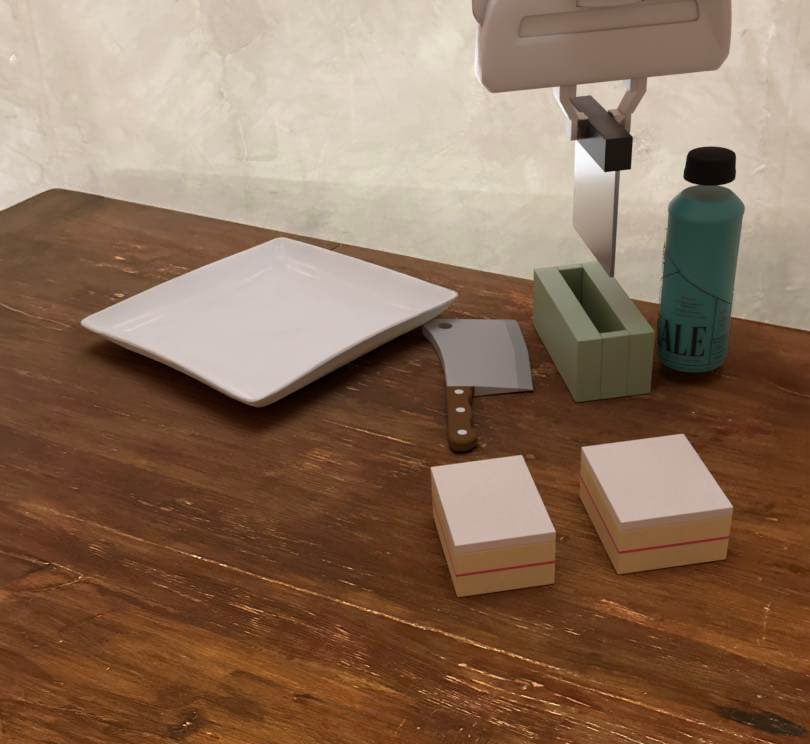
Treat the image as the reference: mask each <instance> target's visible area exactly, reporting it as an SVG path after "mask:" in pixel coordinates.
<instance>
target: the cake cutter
mask: <svg viewBox="0 0 810 744" xmlns="http://www.w3.org/2000/svg"><path fill="white" fill-rule="evenodd" d="M569 100H570V102H571V104H572V106H573V108H574V110H575V112H576V113H582V112H583V113H584V114H585V116H587V117H588V118H589V121H588V128H587V131H588V136H587V139H580V140H574V164H573V165H574V169H573V197H572V199H573V200H572V227H573V228H574V230H575V232H576V233H577V234H578V236H579V237H580V238H581V240H582V241H583V242H584V245H586V246H587V249H589V251H590V252H591V254H592V255H593V257H594V258H595V259H596V261H598V262H599V263H600V265H601V266H602V267H603V269H604V270H605V272H606V273H607V274H608V276H609V277H610V278H611V277H615V271H616V270H615V268H616V267H615V266H616V251H617V232H618V218H619V217H618V214H619V198H620V181H621V179H620V178H621V171H629V170H632V162H633V161H632V160H633V146H634V144H633V143H634V142H633V141H634V136H633V135H632V134H631V132H630V133H629V132H628V131H626V130H625V129H624V128H623V127H622V126H621V125H620V124H619V123H618V122H617V121H616V120H615V119H614V118H613V117H612V116H611V115H610V114H609V113H608V110H607V109H605V107H604V106H602V104H600V103H599V102H598V100H597V99H595V98H594V97H593V96H592V95H591V94H590V95H589V94H588V95H579V96H576V98H574V99H570V98H569Z"/></svg>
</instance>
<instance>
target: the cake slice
mask: <svg viewBox="0 0 810 744" xmlns="http://www.w3.org/2000/svg"><path fill="white" fill-rule="evenodd" d="M430 480H431V481H430V482H431V500H432V502H431V503H432V514H433V516H432V517H433V521H434V523H435V526H436V531H437V534H438V538H439V540H440V544H441V547H442V550H443V554H444V557H445V561H446V564H447V568H448V571H449V575H450V578H451V581H452V584H453V588H454V591H455V595H456V597H457V598H463V597H469V596H470V597H471V596H477V595H485V594H492V593H497V592H506V591H512V590H519V589H526V588H532V587H539V586H540V587H541V586H546V585H548V586H549V585H553V584H555V583H556V582H555V581H556V580H555V579H556V574H555V573H556V563H557V562H556V561H557V560H556V545H557V544H556V543H557V541H556V539H557V531H556V529H555V527H554V524H553V522H552V519H551V517H550V515H549V513H548V511H547V508H546V506H545V504H544V502H543V499H542V496H541V494H540V492H539V490H538V488H537V485H536V484H535V481H534V479H533V477H532V475H531V472H530V470H529V467H528V464H527V463H526V461H525V458H524V456H523V454H518V455H510V456H504V457H503V456H502V457H495V458H489V459H481V460H473V461H466V462H457V463H450V464H443V465H435V466H431V467H430Z"/></svg>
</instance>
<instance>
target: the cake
mask: <svg viewBox="0 0 810 744" xmlns="http://www.w3.org/2000/svg"><path fill="white" fill-rule="evenodd" d="M579 471H580V472H579V473H580V474H579V496H578V497H579V498H580V500H581V503H582V505H583V507H584V510H585V511H586V513H587V515H588V517H589V519H590V522H591V523H592V525H593V527H594V529H595V531H596V533H597V536H598V537H599V539H600V541H601V544H602V546H603V548H604V550H605V552H606V554H607V556H608V558H609V560H610V562H611V564H612V566H613V568H614V570H615V572H616V574H617V575H624V574H632V573H638V572H639V573H640V572H647V571H653V570H659V569H667V568H674V567H681V566H688V565H696V564H702V563H709V562H716V561H724V560H726V559H727V554H728V547H729V541H730V539H731V535H730V533H731V526H732V519H733V512H734V506H733V504H732V503H731V501H730V500H729V499H728V497H727V495H726V494H725V493H724V491H723V490H722V488H721V487H720V485H719V484H718V482H717V481H716V479H715V478H714V476H713V475H712V473H711V472H710V470H709V469H708V467H707V466H706V464H705V463H704V462H703V460H702V459H701V457H700V456H699V454H698V453H697V452H696V450H695V449H694V447H693V445H692V443H691V442H690V441H689V440H688V438H687V436H686V435H685V434H684V433H678V434H670V435H663V436H655V437H648V438H646V437H645V438H640V439H639V438H638V439H632V440H625V441H616V442H610V443H603V444H601V443H600V444H593V445H586V446H581V449H580V470H579Z"/></svg>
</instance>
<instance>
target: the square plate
mask: <svg viewBox="0 0 810 744" xmlns="http://www.w3.org/2000/svg"><path fill="white" fill-rule="evenodd" d="M458 297H459V293H458V292H457V291H455V290H453V289H450V288H447V287H444V286H440V285H437V284H435V283H432V282H429V281H426V280H423V279H420V278H417V277H414V276H411V275H408V274H406V273H403V272H400V271H397V270H394V269H391V268H388V267H384V266H382V265H378V264H375V263H372V262H369V261H365V260H362V259H359V258H356V257H353V256H351V255H346V254H344V253H340V252H336V251H333V250H330V249H326V248H324V247H320V246H317V245H313V244H310V243H306V242H303V241H300V240H295V239H292V238H288V237H282V236H281V237H275V238H273V239H271V240H268V241H265V242H263V243H261V244H258V245H256V246H253V247H251V248H248V249H245V250H242V251H239V252H237V253H235V254H231V255H229V256H226V257H224V258H221V259H219V260H216V261H214V262H211V263H208V264H206V265H204V266H200V267H198V268H196V269H193V270H191V271H189V272H188V271H187V272H185V273H184V274H181V275H179V276H176V277H174V278H172V279H169V280H167V281H165V282H162V283H159V284H157V285H155V286H153V287H150V288H148V289H146V290H144V291H142V292H140V293H137V294H135V295H133V296H130V297H128V298H126V299H124V300H121V301H119V302H117V303H115V304H113V305H110V306H107V307H106V308H103V309H102V310H99V311H97V312H95V313H92V314H90V315H88V316H86V317H84V318H83V319H81V321H80V325H81V326H82V327H83V328H85V329H87V330H89V331H92V332H93V333H96V334H98V335H99V336H101V337H103V338H105V339H106V340H108V341H110V342H112V343H113V344H116V345H118V346H119V347H122V348H124V349H126V350H129V351H131V352H134V353H137V354H139V355H141V356H144V357H146V358H148V359H152V360H153V361H157V362H159V363H161V364H163V365H166V366H168V367H170V368H172V369H173V370H176V371H177V372H180V373H183V374H185V375H187V376H189V377H190V378H192V379H195V380H197V381H198V382H200V383H202V384H204V385H206V386H208V387H210V388H211V389H214V390H215V391H218V392H219V393H222V394H224V395H225V396H227V397H229V398H230V399H232V400H233V399H234V400H235V401H238V402H241V403H243V404H245V405H248V406H250V407H255V408H263V407H268V406H269V405H271V404H274V403H276V402H278V401H279V400H282V399H283V398H286V397H287V396H289V395H291V394H293V393H295V392H297V391H299V390H301V389H303V388H305V387H306V386H308V385H310V384H312V383H314V382H316V381H317V380H319V379H322V378H323V377H325V376H327V375H328V374H331V373H333V372H334V371H336V370H338V369H340V368H342V367H343V366H345V365H347V364H349V363H351V362H354V361H356V360H357V359H358V358H361V357H362V356H364V355H366V354H368V353H370V352H372V351H374V350H376V349H379V348H380V347H382V346H385V345H386V344H388V343H390V342H391V341H393V340H394V339H396V338H399V337H400V336H402V335H405V334H407V333H409V332H411V331H413V330H414V329H416V328H418V327H420V326H422V324H424V323H426V322H428V321H429V320H431V319H436V317H438V316H439V315H441V313H443V312H444V311H445V310H447V308H448V307H450V306H451V305H452V303H453V302H454V301H455V300H456V299H458Z"/></svg>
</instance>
